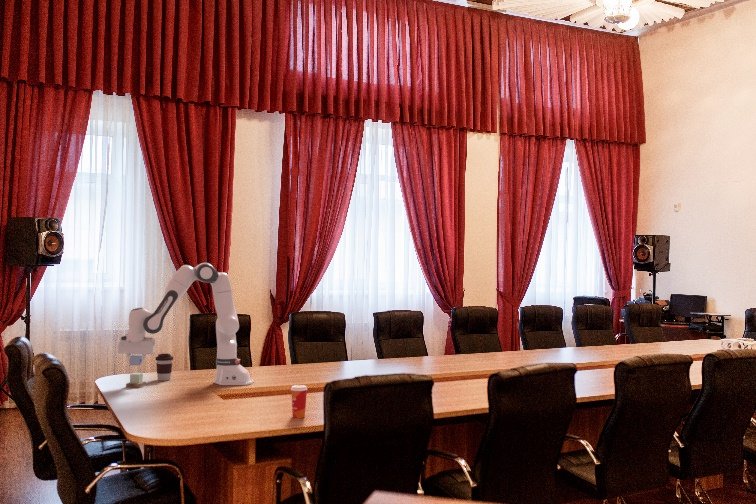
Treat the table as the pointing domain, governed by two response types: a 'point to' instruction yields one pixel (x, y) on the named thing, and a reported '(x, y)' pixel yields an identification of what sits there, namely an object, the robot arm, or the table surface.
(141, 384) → the baseplate
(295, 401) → the paper cup
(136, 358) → the blue block
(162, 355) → the coffee cup
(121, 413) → the table surface
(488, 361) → the table surface
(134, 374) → the green block
